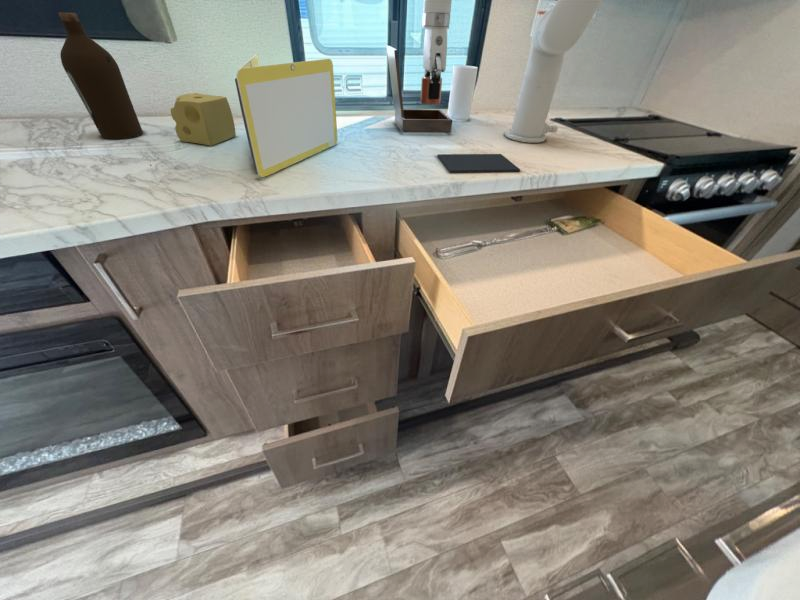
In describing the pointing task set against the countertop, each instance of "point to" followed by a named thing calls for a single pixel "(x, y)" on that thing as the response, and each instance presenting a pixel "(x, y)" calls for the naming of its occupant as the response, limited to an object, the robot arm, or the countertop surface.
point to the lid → (395, 80)
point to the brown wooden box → (423, 121)
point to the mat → (477, 163)
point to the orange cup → (426, 91)
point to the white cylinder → (461, 91)
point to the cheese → (203, 119)
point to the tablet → (287, 111)
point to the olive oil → (98, 82)
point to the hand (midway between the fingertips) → (430, 96)
